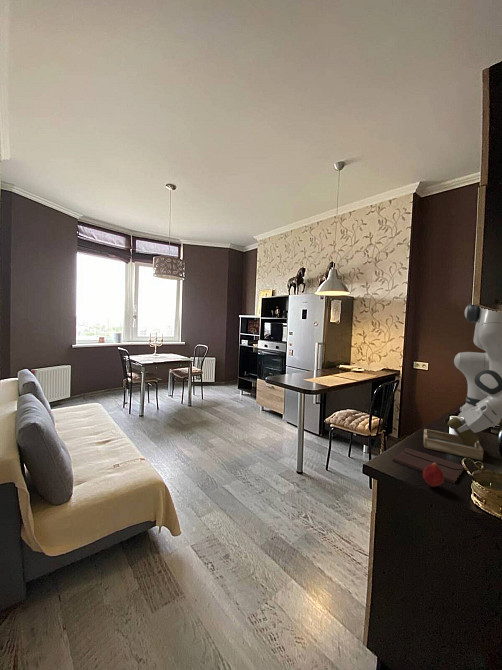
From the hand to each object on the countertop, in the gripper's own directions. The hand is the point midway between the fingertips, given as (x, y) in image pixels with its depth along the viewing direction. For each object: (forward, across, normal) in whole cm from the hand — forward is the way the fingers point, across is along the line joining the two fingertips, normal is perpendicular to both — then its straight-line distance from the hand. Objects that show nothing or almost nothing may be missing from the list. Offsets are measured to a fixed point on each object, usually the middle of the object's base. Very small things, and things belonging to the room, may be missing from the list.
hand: (457, 428), depth 125 cm
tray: (+8, 0, +5) cm, 9 cm away
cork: (-1, 0, +7) cm, 7 cm away
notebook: (+14, +25, -1) cm, 29 cm away
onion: (+14, +41, 0) cm, 43 cm away
